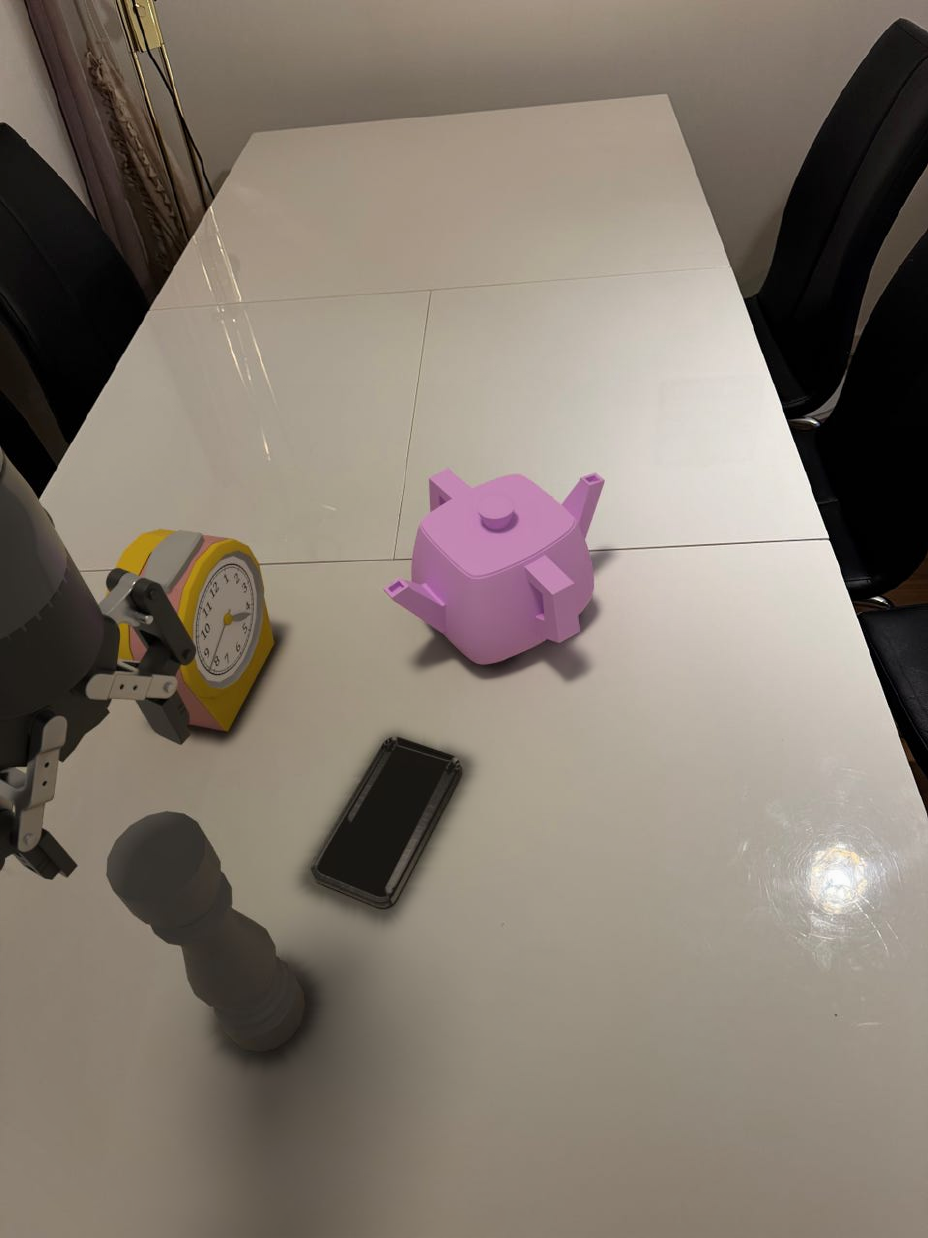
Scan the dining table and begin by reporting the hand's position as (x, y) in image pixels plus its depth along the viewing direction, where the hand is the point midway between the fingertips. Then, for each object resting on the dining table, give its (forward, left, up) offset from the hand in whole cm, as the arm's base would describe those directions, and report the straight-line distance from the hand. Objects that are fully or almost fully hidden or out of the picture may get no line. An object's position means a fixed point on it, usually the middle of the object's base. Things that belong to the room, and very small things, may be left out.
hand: (119, 797), depth 47 cm
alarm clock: (+24, +24, -31) cm, 46 cm away
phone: (+18, 0, -31) cm, 36 cm away
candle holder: (0, 0, -31) cm, 31 cm away
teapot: (+44, +2, -31) cm, 54 cm away
